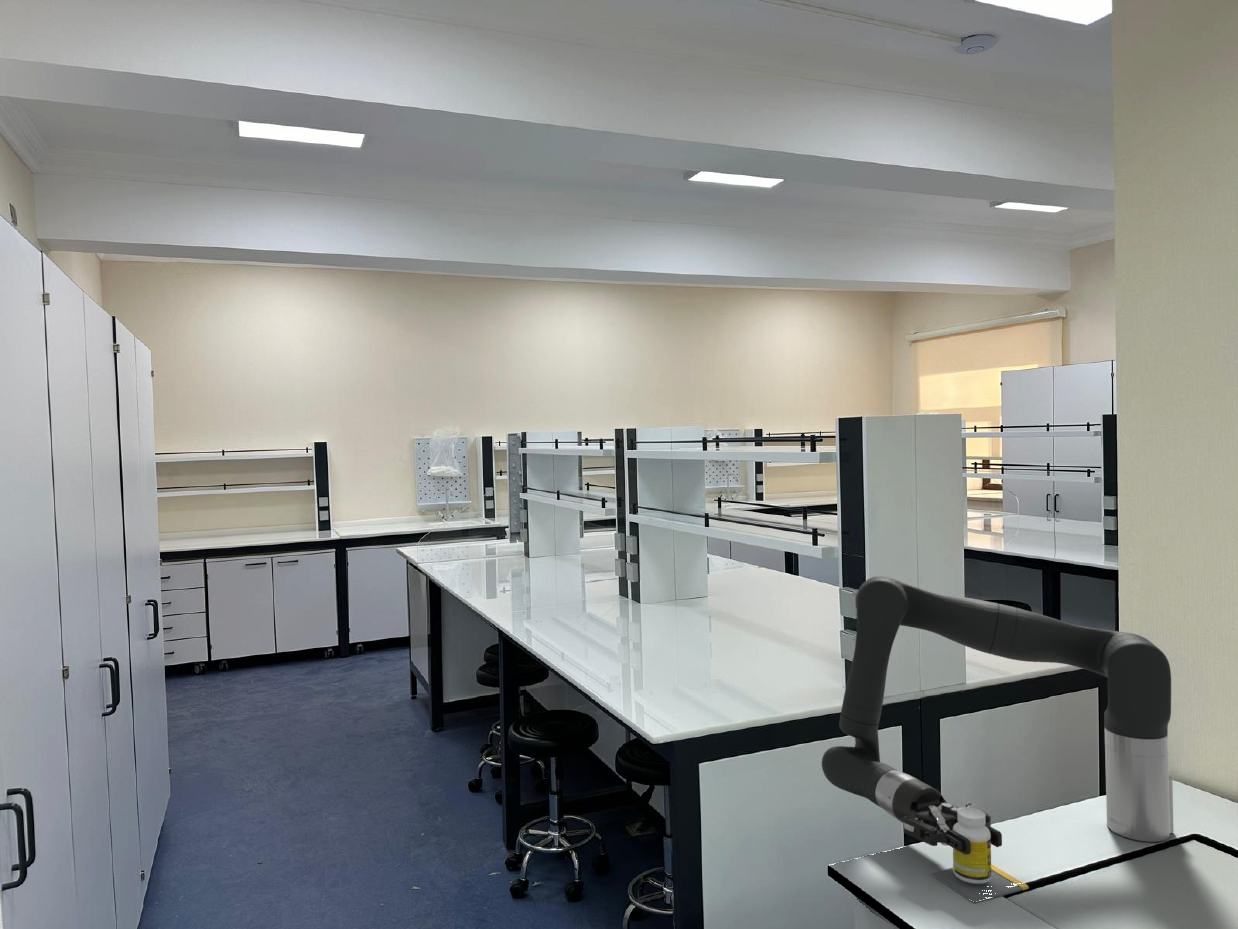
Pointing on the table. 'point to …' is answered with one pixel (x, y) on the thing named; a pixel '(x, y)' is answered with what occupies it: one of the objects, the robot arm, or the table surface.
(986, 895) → the mat
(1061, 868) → the table surface
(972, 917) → the table surface
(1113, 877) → the table surface
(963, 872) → the supplement bottle
